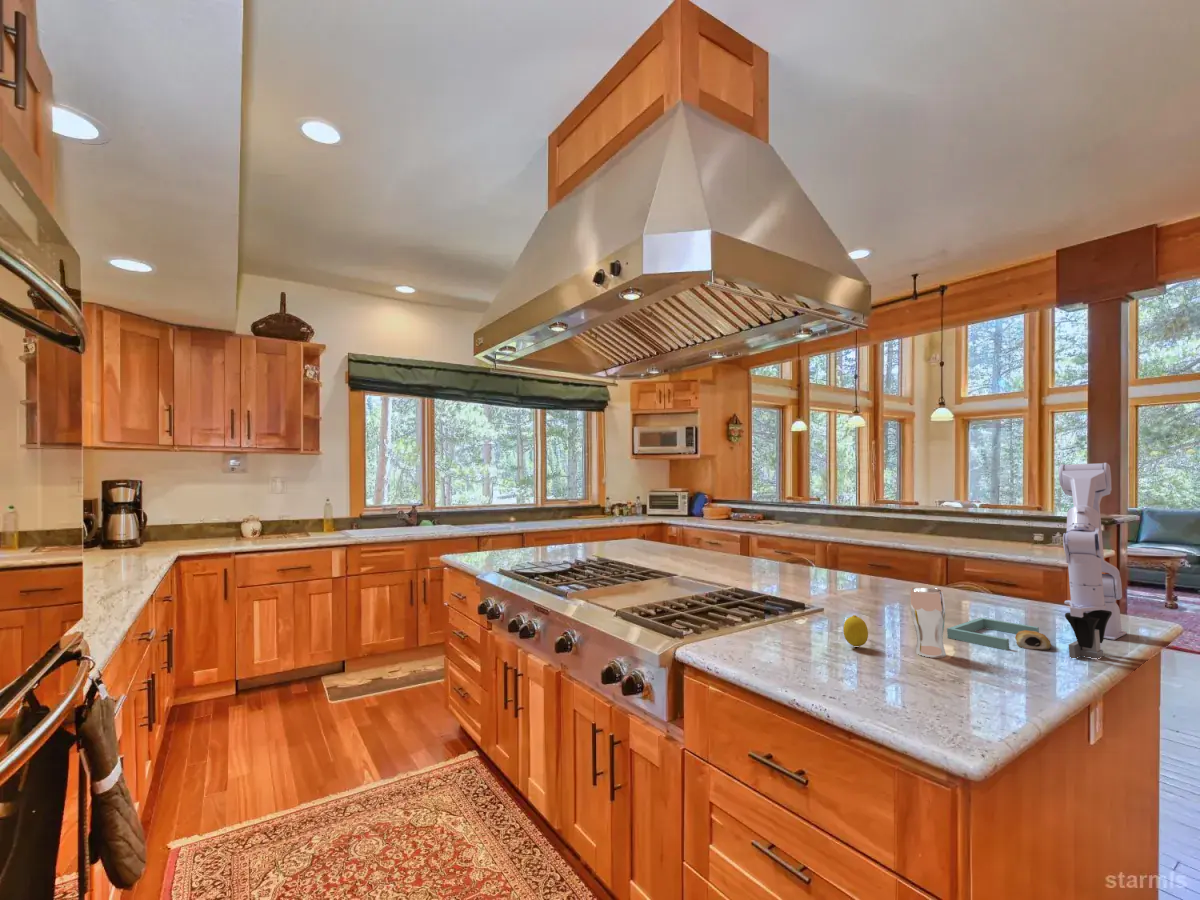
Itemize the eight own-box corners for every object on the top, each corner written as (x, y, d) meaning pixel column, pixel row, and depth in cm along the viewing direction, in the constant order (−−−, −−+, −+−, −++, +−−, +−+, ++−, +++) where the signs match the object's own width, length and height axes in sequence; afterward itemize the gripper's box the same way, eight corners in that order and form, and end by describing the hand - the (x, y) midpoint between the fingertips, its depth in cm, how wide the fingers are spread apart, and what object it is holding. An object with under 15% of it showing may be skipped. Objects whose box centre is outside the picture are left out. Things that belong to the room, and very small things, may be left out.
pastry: (1014, 638, 139) (1013, 623, 140) (1048, 642, 136) (1047, 627, 136) (1016, 648, 132) (1015, 632, 132) (1053, 653, 128) (1051, 636, 128)
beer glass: (945, 651, 130) (941, 587, 131) (950, 660, 124) (945, 593, 125) (912, 648, 133) (908, 586, 134) (915, 657, 127) (910, 591, 128)
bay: (981, 626, 151) (980, 617, 151) (1039, 636, 140) (1038, 627, 140) (947, 637, 141) (947, 628, 141) (1007, 650, 130) (1006, 639, 130)
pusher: (1086, 649, 129) (1083, 624, 129) (1108, 654, 125) (1106, 627, 126) (1069, 658, 123) (1067, 631, 124) (1092, 662, 120) (1090, 634, 120)
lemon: (871, 652, 131) (869, 618, 132) (847, 651, 132) (845, 617, 133) (865, 645, 137) (863, 612, 137) (841, 644, 138) (840, 612, 138)
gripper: (1075, 578, 132) (1080, 635, 131) (1051, 585, 124) (1056, 646, 123) (1114, 581, 126) (1119, 641, 125) (1091, 589, 118) (1097, 653, 118)
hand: (1091, 644), depth 124 cm, fingers open, 6 cm apart
